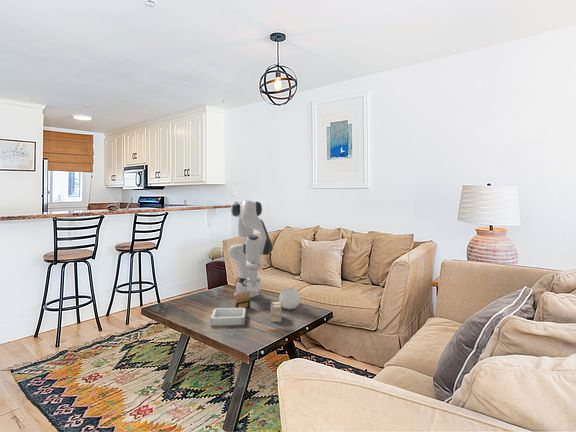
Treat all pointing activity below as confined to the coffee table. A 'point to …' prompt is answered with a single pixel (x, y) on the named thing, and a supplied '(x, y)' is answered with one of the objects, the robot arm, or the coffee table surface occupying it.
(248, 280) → the teal-striped white carton
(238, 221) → the robot arm
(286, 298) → the geodesic sphere
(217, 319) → the tray
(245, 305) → the ammunition clip
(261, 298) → the coffee table surface
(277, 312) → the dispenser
